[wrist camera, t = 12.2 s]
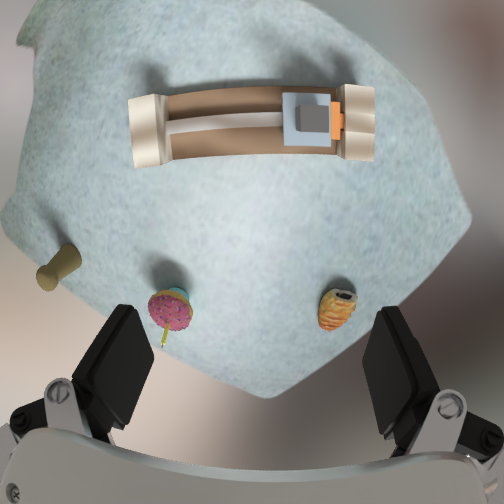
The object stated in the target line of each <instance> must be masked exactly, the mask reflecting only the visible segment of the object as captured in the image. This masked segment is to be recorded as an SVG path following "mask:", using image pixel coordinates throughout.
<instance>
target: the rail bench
mask: <svg viewBox="0 0 504 504" xmlns="http://www.w3.org/2000/svg"><path fill="white" fill-rule="evenodd" d="M282 93H318V94H330V100H331V102H340V114H344V129H341V128H340V140H335V139H331V147H324V146H284V144H283V113H282ZM128 107H129V121H130V132H131V143H132V152H133V160H134V168H135V169H136V168H144V167H151V166H159V165H162V164H164V163H167V162H169V161H171V160H176V159H186V158H196V157H209V156H224V155H243V154H329V155H338V156H339V157H341V158H343V159H345V160H360V161H373V162H374V145H375V94H374V88H373V87H367V86H359V85H351V84H343V85H341V86H339V87H337V88H326V87H309V86H255V87H237V88H224V89H214V90H205V91H197V92H190V93H183V94H177V95H171V96H164V95H159V94H150V95H146V96H141V97H137V98H133V99H129V100H128Z"/></svg>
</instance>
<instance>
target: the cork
mask: <svg viewBox="0 0 504 504" xmlns="http://www.w3.org/2000/svg"><path fill="white" fill-rule="evenodd" d="M81 264H82V258H81V255H80V252H79V251H78V249H77V248H76V247H75V246H73V245H72V244H68V243H67V244H65V245H64V246H63V247H62V248H61V249H60V250H59V251H58V252H57V254H56V255H55V256H54V257H53V258H52V259H51V261H50V262H49V263H48V264H47V265H43V266H41V267H40V268H39V269H38V270H37V273H36V279H37V282H38V284H39V286H40V287H41V288H42V289H43V290H45V291H52V290H54V289H55V288H56V286H57V285H58V281H60V280H61V279H63V278H64V277H65V276H67V275H68V274H70V273H71V272H73V271H74V270H76V269H77V268H79V267H80V266H81Z"/></svg>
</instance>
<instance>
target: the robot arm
mask: <svg viewBox="0 0 504 504" xmlns="http://www.w3.org/2000/svg"><path fill="white" fill-rule="evenodd" d="M153 362H154V354H153V351H152V348H151V346H150V343H149V341H148V338H147V336H146V333H145V330H144V328H143V325H142V322H141V320H140V317H139V314H138V311H137V310H136V309H134V307H133V306H132V305H125V304H119V305H117V307H116V308H115V309H114V311H113V312H112V314H111V315H110V317H109V318H108V320H107V321H106V323H105V324H104V326H103V327H102V329H101V330H100V332H99V333H98V335H97V336H96V338H95V339H94V341H93V343H92V344H91V345H90V347H89V349H88V350H87V352H86V353H85V355H84V357H83V358H82V360H81V361H80V363H79V365H78V366H77V368H76V370H75V371H74V373H73V374H72V378H73V379H72V381H69V380H68V379H66V378H57V379H55V380H53V381H52V382H50V383H49V384H48V386H47V387H46V389H45V392H44V398H42V399H39V400H37V401H34V402H32V403H29V404H27V405H24V406H22V407H19V408H17V409H16V410H15V411H14V412H13V413H12V415H11V418H10V424H8V423H6V424H4V425H3V426H2V427H1V428H0V504H504V435H503V432H502V430H501V429H500V427H498V426H497V425H496V424H493V423H491V422H489V421H487V420H485V419H483V418H481V417H478V416H476V415H474V414H472V413H470V412H468V411H467V404H466V401H465V399H464V397H463V396H462V395H461V394H460V393H458V392H457V391H455V390H451V389H449V390H443V391H440V389H439V386H438V384H437V381H436V379H435V377H434V375H433V373H432V370H431V368H430V366H429V364H428V361H427V359H426V357H425V355H424V353H423V351H422V349H421V347H420V345H419V343H418V341H417V339H416V338H414V337H413V335H412V333H411V331H410V329H409V327H408V325H407V323H406V321H405V319H404V317H403V315H402V314H401V312H400V310H399V308H398V307H397V306H386V307H382V309H381V311H378V312H377V314H376V318H375V321H374V325H373V328H372V331H371V335H370V338H369V341H368V344H367V347H366V350H365V353H364V356H363V361H362V362H363V368H364V372H365V376H366V379H367V383H368V387H369V391H370V395H371V399H372V403H373V407H374V412H375V416H376V420H377V425H378V429H379V433H380V434H383V435H384V439H385V440H389V439H393V438H394V439H395V443H396V445H397V446H396V447H395V449H394V451H393V452H392V454H391V456H390V457H389V459H384V460H380V461H374V462H369V463H363V464H356V465H349V466H343V467H334V468H324V469H314V470H313V469H312V470H293V471H258V470H238V469H227V468H216V467H209V466H200V465H195V464H188V463H182V462H177V461H172V460H167V459H163V458H158V457H153V456H150V455H146V454H142V453H138V452H135V451H131V450H128V449H124V448H121V447H118V446H116V445H115V443H114V440H113V438H112V435H111V433H110V430H111V428H112V427H114V428H117V429H121V430H123V429H124V427H125V425H127V424H129V422H130V419H131V417H132V414H133V412H134V409H135V406H136V404H137V401H138V399H139V396H140V394H141V391H142V389H143V386H144V384H145V381H146V379H147V376H148V374H149V371H150V369H151V367H152V364H153Z"/></svg>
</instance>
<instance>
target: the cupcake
mask: <svg viewBox="0 0 504 504" xmlns="http://www.w3.org/2000/svg"><path fill="white" fill-rule="evenodd" d="M148 308H149V309H148V310H149V313H150V316H151V317H152V319H153V321H154V322H156V323H157V325H160V326H161V327H162V328H165V331H164V334H163V338H162V341H161V344H162V348H163V345H164V344H165V341H166V338H167V334H168V331H169V330H171V331H172V330H174V331H175V332H176V330H177V331H180V330H181V329H185V328H186V327H188V326H189V322H190V321H191V319H192V316H193V310H192V307H191V305H190V303H189V297H188V295H187V293H186V292H185V291H184V290H182V289H180V288H177V287H173V288H170V289H168V290H162V291H160V292H158V293H156V294H154V295H152V297H151V298H150V300H149V302H148Z"/></svg>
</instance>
